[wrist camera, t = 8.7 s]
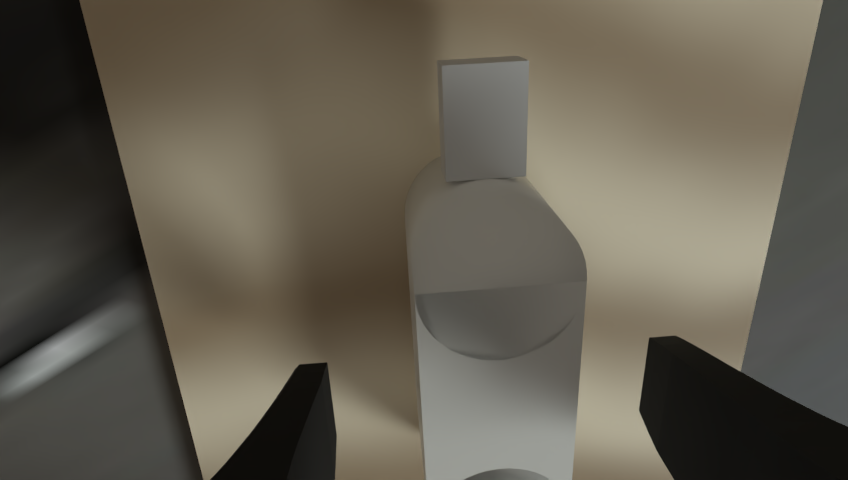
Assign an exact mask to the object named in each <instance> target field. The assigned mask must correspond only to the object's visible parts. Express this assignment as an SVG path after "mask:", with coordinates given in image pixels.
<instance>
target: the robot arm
mask: <svg viewBox="0 0 848 480" xmlns="http://www.w3.org/2000/svg"><path fill="white" fill-rule="evenodd" d="M639 412H640V414H641V417H642V419H643V421H644V424H645V426H646V428H647V431H648V433H649V435H650V437H651V440H652V442H653V444H654V446H655V448H656V450H657V452H658V454H659V456H660V457H661V459H662V461H663V462H664V464H665V466H666V467H667V469H668V471H669V472H670V474H671V475H672V477H673V479H674V480H848V427H847V426H845V425H842V424H840V423H838V422H836V421H833V420H831V419H829V418H827V417H825V416H823V415H821V414H819V413H817V412H815V411H813V410H811V409H809V408H807V407H805V406H803V405H801V404H799V403H797V402H795V401H793V400H791V399H789V398H787V397H785V396H783V395H782V394H780V393H778V392H776V391H774V390H772V389H770V388H769V387H767V386H765V385H763V384H761V383H760V382H758V381H756V380H754V379H753V378H751V377H749V376H747V375H745V374H744V373H742V372H740V371H738V370H737V369H735V368H733V367H732V366H730V365H728V364H726V363H725V362H723V361H721V360H719V359H718V358H716V357H714V356H713V355H711V354H709V353H707V352H706V351H704V350H702V349H700V348H699V347H697V346H695V345H693V344H691V343H690V342H688V341H686V340H684V339H682V338H680V337H678V336H676V335H675V336H662V337H649V342H648V349H647V356H646V363H645V370H644V377H643V384H642V391H641V399H640V406H639ZM336 443H337V434H336V426H335V418H334V410H333V402H332V395H331V387H330V379H329V371H328V363H327V362H324V363H311V364H299V365H298V366H297V367H296V368H295V370H294V371H293V373H292V374H291V376H290V378H289V379H288V381H287V382H286V384H285V385H284V387H283V388H282V390H281V391H280V393H279V394H278V396H277V397H276V399H275V400H274V402H273V403H272V405H271V406H270V407H269V409H268V410H267V411H266V413H265V414H264V415H263V417H262V418H261V420H260V421H259V422H258V424H257V425H256V426H255V428H254V429H253V430H252V432H251V433H250V434H249V435H248V437H247V438H246V439H245V440H244V441H243V443H242V444H241V445H240V446H239V447H238V449H237V450H236V451H235V452H234V453H233V455H232V456H231V457H230V458H229V459H228V461H227V462H226V463H225V464H224V465H223V466H222V467H221V468H220V470H219V471H218V472H217V473H216V474H215V475H214V476H213V477H212V478H211V479H210V480H335V469H336Z"/></svg>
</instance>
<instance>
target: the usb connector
mask: <svg viewBox="0 0 848 480" xmlns="http://www.w3.org/2000/svg"><path fill="white" fill-rule="evenodd" d="M437 73H438V100H439V126H440V153H441V156H440V157H438V158H436V159H435V160H433V161H432V162H430V163H429V164H428V165H427V166H426V167H425V168H424V169H423V170H421V172H420V173H419V174H418V175H417V177H416V178H415V180H414V181H413V183H412V185H411V187H410V189H409V191H408V194H407V198H406V203H405V229H406V244H407V259H408V274H409V289H410V305H411V320H412V335H413V350H414V365H415V380H416V395H417V410H418V420H419V431H420V441H421V451H422V461H423V472H424V480H572V474H573V461H574V448H575V434H576V421H577V408H578V394H579V381H580V368H581V354H582V341H583V328H584V314H585V301H586V288H587V267H586V261H585V258H584V254H583V251H582V249H581V247H580V245H579V243H578V241H577V240H576V238H575V237H574V236H573V234H572V233H571V232H570V230H569V229H568V228H567V227H566V225H565V224H564V223H563V222H562V221H561V219H560V218H559V217H558V216H557V214H556V213H555V212H554V211H553V210H552V208H551V207H550V206H549V205H548V203H547V202H546V201H545V200H544V198H543V197H542V196H541V195H540V194H539V192H538V191H537V190H536V189H535V187H534V186H533V185H532V184H531V183H530V181H529V180H528V179H527V178H526V164H527V124H528V83H529V60H527V59H524V58H522V57H520V56H504V57H487V58H470V59H453V60H437Z"/></svg>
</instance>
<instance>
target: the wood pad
mask: <svg viewBox="0 0 848 480" xmlns="http://www.w3.org/2000/svg"><path fill="white" fill-rule="evenodd" d="M79 1H80V5H81V8H82V12H83V16H84V20H85V24H86V28H87V32H88V35H89V39H90V43H91V47H92V51H93V55H94V59H95V63H96V66H97V70H98V74H99V78H100V82H101V86H102V90H103V93H104V97H105V101H106V105H107V109H108V113H109V117H110V121H111V124H112V128H113V132H114V136H115V140H116V144H117V148H118V151H119V155H120V159H121V163H122V167H123V171H124V175H125V178H126V182H127V186H128V190H129V194H130V198H131V202H132V206H133V209H134V213H135V217H136V221H137V225H138V229H139V233H140V236H141V240H142V244H143V248H144V252H145V256H146V260H147V264H148V267H149V271H150V275H151V279H152V283H153V287H154V291H155V294H156V298H157V302H158V306H159V310H160V314H161V318H162V321H163V325H164V329H165V333H166V337H167V341H168V345H169V349H170V352H171V356H172V360H173V364H174V368H175V372H176V376H177V379H178V383H179V387H180V391H181V395H182V399H183V403H184V406H185V410H186V414H187V418H188V422H189V426H190V430H191V434H192V437H193V441H194V445H195V449H196V453H197V457H198V461H199V464H200V468H201V472H202V476H203V480H210V479H211V478H212V477H213V476H214V475H215V474H216V473H217V472H218V471H219V470H220V468H221V467H222V466H223V465H224V464H225V463H226V462H227V461H228V459H229V458H230V457H231V456H232V455H233V453H234V452H235V451H236V450H237V449H238V447H239V446H240V445H241V444H242V443H243V441H244V440H245V439H246V438H247V437H248V435H249V434H250V433H251V432H252V430H253V429H254V428H255V426H256V425H257V424H258V422H259V421H260V420H261V418H262V417H263V415H264V414H265V413H266V411H267V410H268V409H269V407H270V406H271V405H272V403H273V402H274V400H275V399H276V397H277V396H278V394H279V393H280V391H281V390H282V388H283V387H284V385H285V384H286V382H287V381H288V379H289V378H290V376H291V374H292V373H293V371H294V370H295V368H296V367H297V366H298V365H299V364H311V363H324V362H327V363H328V371H329V379H330V387H331V395H332V402H333V410H334V418H335V426H336V434H337V443H336V469H335V480H424V472H423V461H422V451H421V441H420V431H419V420H418V410H417V395H416V380H415V365H414V350H413V335H412V320H411V305H410V289H409V274H408V259H407V244H406V229H405V203H406V198H407V194H408V191H409V189H410V187H411V185H412V183H413V181H414V180H415V178H416V177H417V175H418V174H419V173H420V172H421V170H423V169H424V168H425V167H426V166H427V165H428V164H429V163H430V162H432V161H433V160H435V159H436V158H438V157H440V156H441V153H440V126H439V100H438V73H437V60H453V59H470V58H487V57H504V56H520V57H522V58H524V59H527V60H529V83H528V124H527V164H526V178H527V179H528V180H529V181H530V183H531V184H532V185H533V186H534V187H535V189H536V190H537V191H538V192H539V194H540V195H541V196H542V197H543V198H544V200H545V201H546V202H547V203H548V205H549V206H550V207H551V208H552V210H553V211H554V212H555V213H556V214H557V216H558V217H559V218H560V219H561V221H562V222H563V223H564V224H565V225H566V227H567V228H568V229H569V230H570V232H571V233H572V234H573V236H574V237H575V238H576V240H577V241H578V243H579V245H580V247H581V249H582V251H583V254H584V258H585V261H586V267H587V288H586V301H585V314H584V328H583V341H582V354H581V368H580V381H579V394H578V408H577V421H576V434H575V448H574V461H573V474H572V480H674V479H673V477H672V475H671V474H670V472H669V471H668V469H667V467H666V466H665V464H664V462H663V461H662V459H661V457H660V456H659V454H658V452H657V450H656V448H655V446H654V444H653V442H652V440H651V437H650V435H649V433H648V431H647V428H646V426H645V424H644V421H643V419H642V417H641V414H640V412H639V406H640V399H641V391H642V384H643V377H644V370H645V363H646V356H647V349H648V342H649V337H662V336H675V335H676V336H678V337H680V338H682V339H684V340H686V341H688V342H690V343H691V344H693V345H695V346H697V347H699V348H700V349H702V350H704V351H706V352H707V353H709V354H711V355H713V356H714V357H716V358H718V359H719V360H721V361H723V362H725V363H726V364H728V365H730V366H732V367H733V368H735V369H737V370H738V371H741V367H742V362H743V358H744V353H745V349H746V344H747V340H748V335H749V331H750V326H751V322H752V317H753V313H754V308H755V304H756V299H757V295H758V290H759V286H760V281H761V277H762V272H763V268H764V263H765V259H766V254H767V250H768V245H769V241H770V236H771V232H772V227H773V223H774V218H775V214H776V209H777V205H778V200H779V196H780V191H781V187H782V182H783V178H784V173H785V169H786V164H787V160H788V155H789V151H790V146H791V142H792V137H793V133H794V128H795V124H796V119H797V115H798V110H799V106H800V101H801V97H802V92H803V88H804V83H805V79H806V74H807V70H808V65H809V61H810V56H811V52H812V48H813V43H814V39H815V34H816V30H817V25H818V21H819V16H820V12H821V7H822V3H823V0H79Z"/></svg>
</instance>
